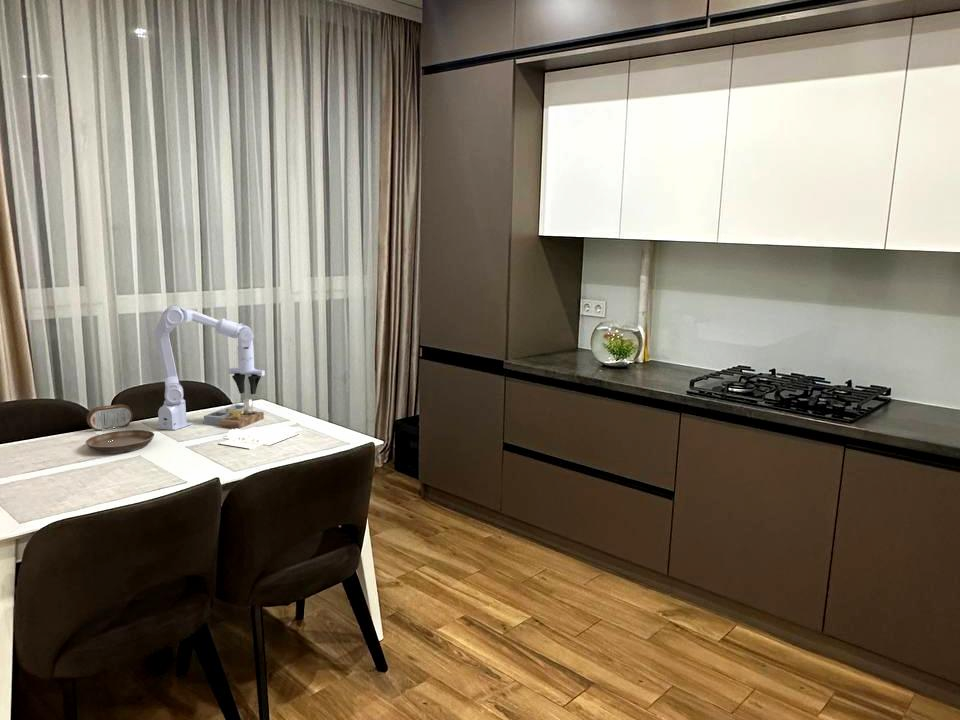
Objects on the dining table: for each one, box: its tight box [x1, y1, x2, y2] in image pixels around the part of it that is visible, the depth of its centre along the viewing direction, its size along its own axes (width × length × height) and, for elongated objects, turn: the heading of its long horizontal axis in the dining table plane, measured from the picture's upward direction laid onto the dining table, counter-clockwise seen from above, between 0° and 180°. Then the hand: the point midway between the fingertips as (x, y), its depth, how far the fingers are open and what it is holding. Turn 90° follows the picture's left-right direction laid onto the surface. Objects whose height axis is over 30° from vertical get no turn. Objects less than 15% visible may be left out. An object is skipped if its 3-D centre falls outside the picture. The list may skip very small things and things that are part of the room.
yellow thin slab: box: [228, 409, 244, 420], centre depth 270 cm, size 1×6×5 cm, turn 74°
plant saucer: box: [85, 429, 155, 454], centre depth 243 cm, size 21×21×3 cm
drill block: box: [219, 410, 265, 430], centre depth 274 cm, size 16×8×2 cm, turn 163°
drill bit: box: [243, 398, 254, 416], centre depth 277 cm, size 3×3×8 cm
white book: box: [217, 423, 303, 450], centre depth 256 cm, size 20×28×4 cm
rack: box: [203, 403, 244, 426], centre depth 280 cm, size 20×7×3 cm, turn 163°
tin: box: [86, 403, 134, 431], centre depth 264 cm, size 15×3×8 cm, turn 130°
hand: (247, 393), depth 276 cm, fingers open, 4 cm apart
